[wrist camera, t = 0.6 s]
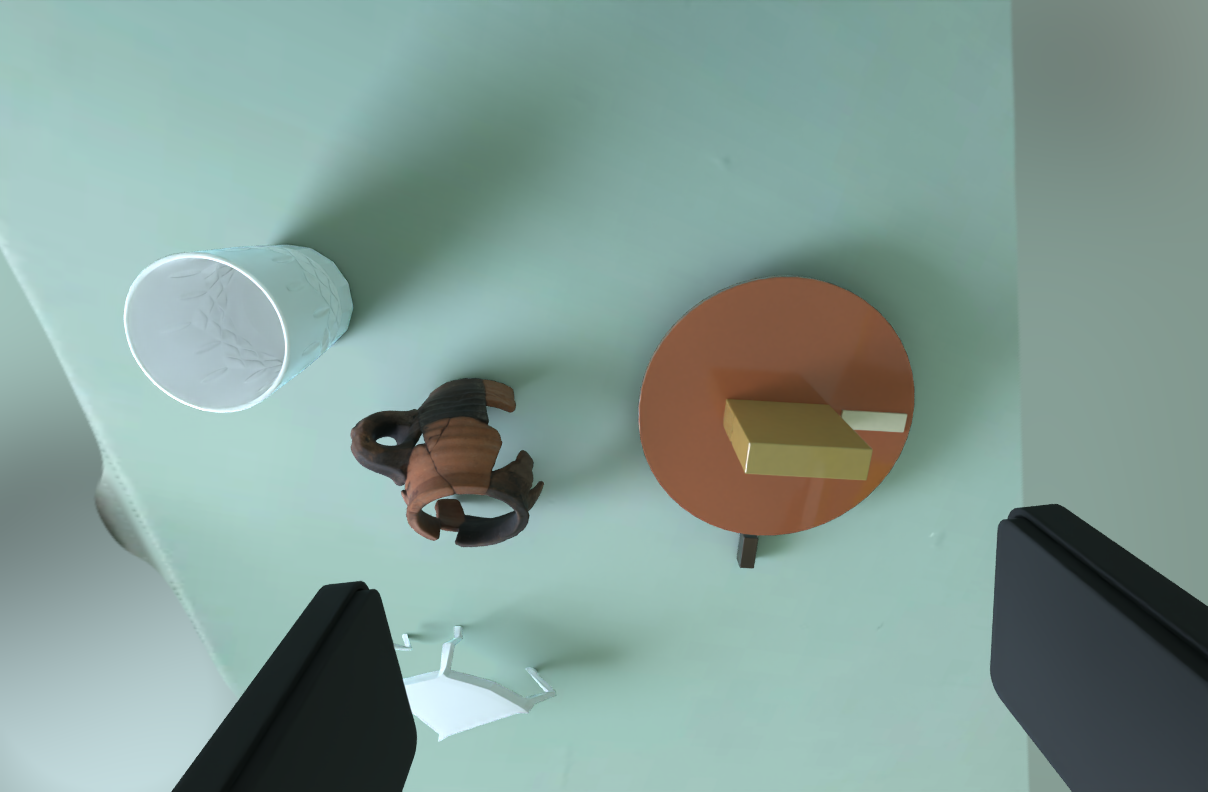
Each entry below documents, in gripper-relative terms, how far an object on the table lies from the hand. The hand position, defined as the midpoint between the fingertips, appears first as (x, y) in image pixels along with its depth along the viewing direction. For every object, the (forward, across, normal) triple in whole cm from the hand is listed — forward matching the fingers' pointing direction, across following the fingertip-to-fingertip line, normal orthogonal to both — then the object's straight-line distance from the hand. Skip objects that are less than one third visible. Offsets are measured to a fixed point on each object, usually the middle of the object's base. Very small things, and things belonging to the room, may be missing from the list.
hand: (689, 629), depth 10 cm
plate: (+31, -8, +8) cm, 33 cm away
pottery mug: (+33, +12, +8) cm, 36 cm away
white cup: (+32, +20, -3) cm, 38 cm away
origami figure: (+33, +15, +26) cm, 44 cm away
